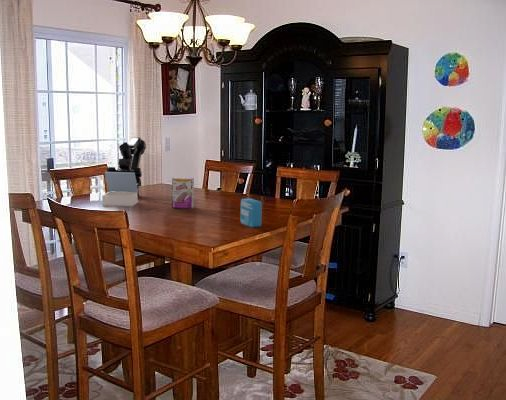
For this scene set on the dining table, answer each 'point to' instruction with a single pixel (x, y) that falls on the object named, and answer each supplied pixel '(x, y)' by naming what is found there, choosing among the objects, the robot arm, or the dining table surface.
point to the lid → (121, 181)
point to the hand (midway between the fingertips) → (122, 183)
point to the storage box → (119, 199)
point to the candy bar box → (182, 192)
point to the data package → (251, 212)
